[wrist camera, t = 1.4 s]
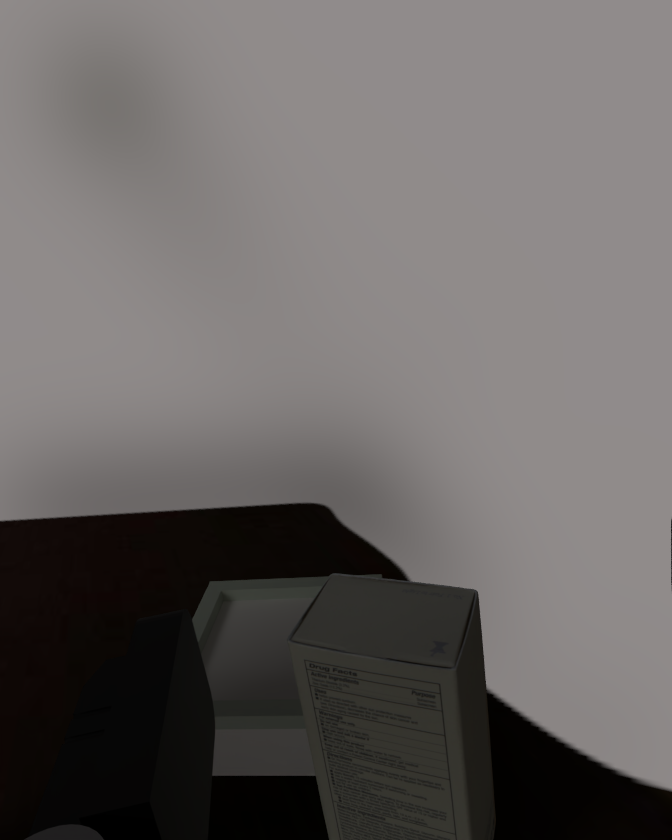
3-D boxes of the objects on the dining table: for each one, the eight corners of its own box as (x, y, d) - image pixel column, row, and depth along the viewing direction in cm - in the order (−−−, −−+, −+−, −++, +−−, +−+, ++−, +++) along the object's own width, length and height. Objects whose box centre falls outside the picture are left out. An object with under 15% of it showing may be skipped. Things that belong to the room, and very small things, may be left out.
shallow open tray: (162, 775, 32) (145, 717, 31) (221, 630, 42) (210, 581, 41) (381, 775, 31) (373, 714, 29) (387, 624, 41) (381, 574, 39)
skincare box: (497, 822, 28) (488, 587, 24) (478, 928, 24) (462, 671, 20) (362, 785, 30) (331, 566, 26) (325, 876, 27) (282, 638, 22)
